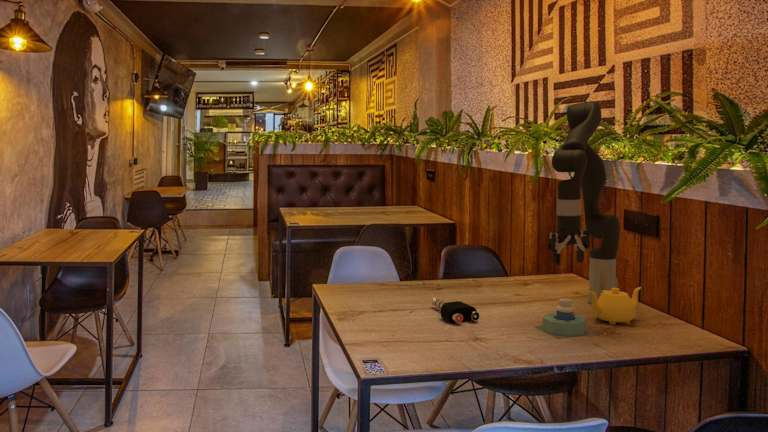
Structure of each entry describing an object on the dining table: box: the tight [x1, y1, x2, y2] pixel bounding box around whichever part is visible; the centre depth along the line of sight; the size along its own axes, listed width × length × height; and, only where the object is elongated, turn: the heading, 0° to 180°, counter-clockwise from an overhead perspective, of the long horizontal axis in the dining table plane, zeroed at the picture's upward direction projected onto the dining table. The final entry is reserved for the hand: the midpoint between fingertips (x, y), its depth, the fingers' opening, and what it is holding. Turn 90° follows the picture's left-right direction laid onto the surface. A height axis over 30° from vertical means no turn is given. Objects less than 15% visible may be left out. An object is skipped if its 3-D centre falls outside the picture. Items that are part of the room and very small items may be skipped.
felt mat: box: [532, 324, 597, 340], centre depth 203 cm, size 14×14×1 cm
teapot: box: [588, 286, 642, 325], centre depth 214 cm, size 20×15×12 cm
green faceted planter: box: [542, 312, 587, 337], centre depth 203 cm, size 12×12×4 cm
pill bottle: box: [555, 297, 575, 321], centre depth 203 cm, size 6×5×10 cm
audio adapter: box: [431, 297, 480, 325], centre depth 223 cm, size 11×5×25 cm
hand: (568, 263), depth 204 cm, fingers open, 8 cm apart
